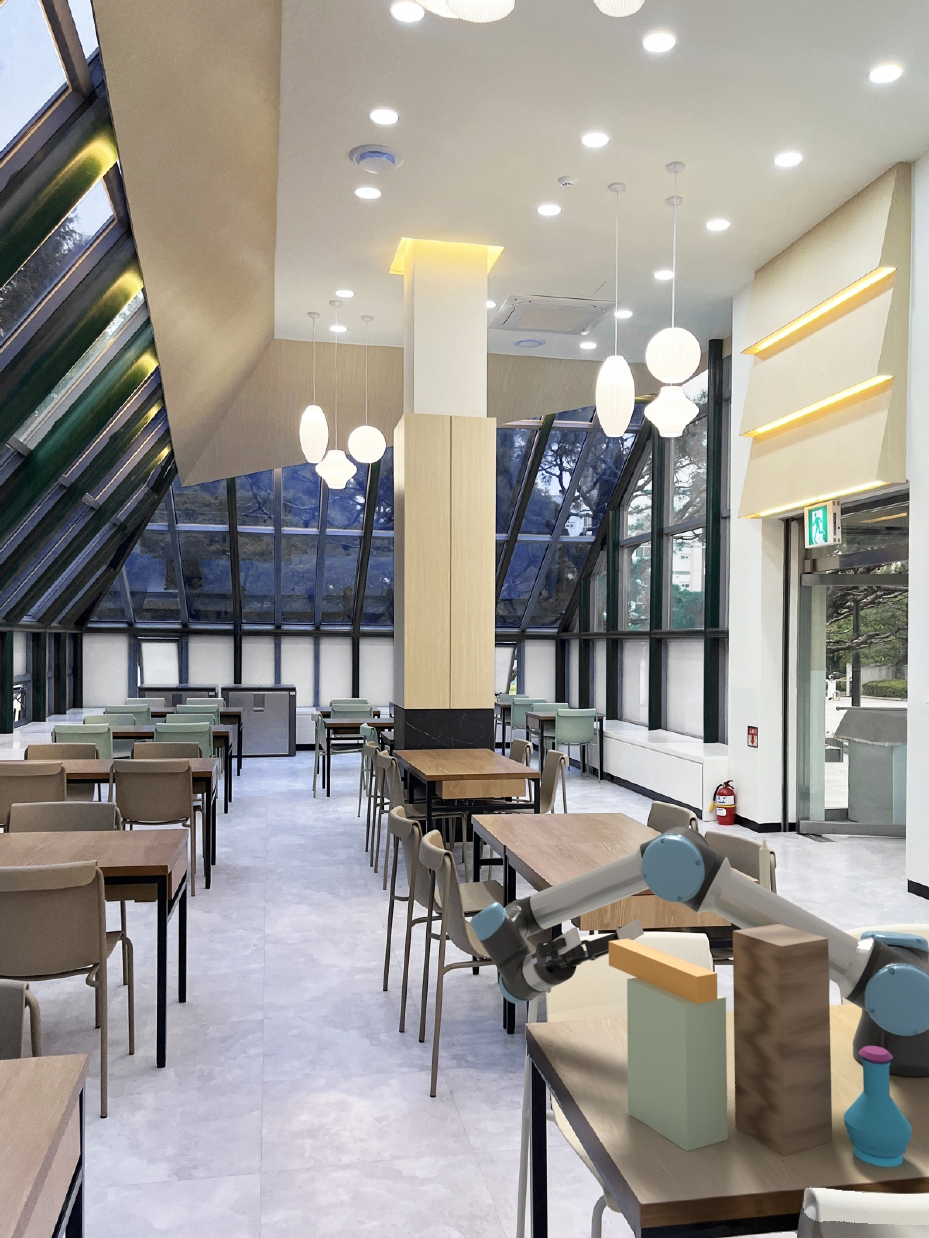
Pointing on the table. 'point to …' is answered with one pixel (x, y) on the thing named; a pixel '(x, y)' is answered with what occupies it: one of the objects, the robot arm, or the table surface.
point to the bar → (664, 970)
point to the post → (782, 1037)
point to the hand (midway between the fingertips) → (609, 930)
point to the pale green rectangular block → (677, 1065)
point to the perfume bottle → (877, 1114)
